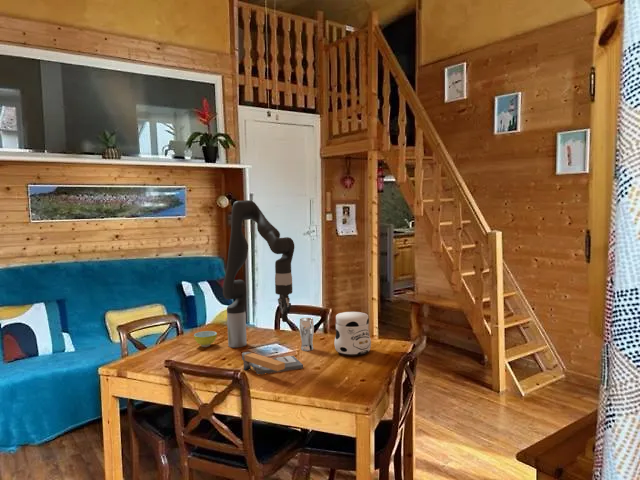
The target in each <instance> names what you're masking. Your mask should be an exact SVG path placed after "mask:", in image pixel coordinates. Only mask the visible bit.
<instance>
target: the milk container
mask: <svg viewBox="0 0 640 480" xmlns="http://www.w3.org/2000/svg"><path fill="white" fill-rule="evenodd" d="M333 344H334V348H335V351H336V352H337V353H338V354H340V355H343V356H351V357H353V356H356V357H357V356H361V355H362V356H363V355H365V354H367V353H369V352H370V350H371V346H372V339H371V336H370V321H369V315H368V313H365V312H360V311H343V312H339V313H337V314H336V315H335V337H334V343H333Z"/></svg>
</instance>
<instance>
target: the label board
mask: <svg viewBox="0 0 640 480" xmlns="http://www.w3.org/2000/svg"><path fill="white" fill-rule="evenodd" d="M272 359H274V360H278V361H281V362H284V363H285V369H283V370H280V371H275V370H272V369H269V368H266V367H263V366H260V365H257V364H254V363H251V368H252V367H253V368H252V369H253V370H254V371H256V372H255V373H256V375H257V374H261V375H266V374H265V373H268V374H274V373H281V372H286V371H287V372H288V371H292V370H293V371H294V370H300V369H304V364H303V363H302V362H301V361H299V359H298V358H297V357H296V356H295V355H287V356H280V357H279V356H278V357H273V358H272ZM273 372H274V373H273Z"/></svg>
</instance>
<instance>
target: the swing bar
mask: <svg viewBox="0 0 640 480" xmlns="http://www.w3.org/2000/svg"><path fill="white" fill-rule="evenodd" d="M241 357H242V358H241V360H245V361H247V362H250V363H254V364H257V365H260V366H263V367H266V368H269V369H272V370H275V371H280V370H283V369H285V363H284V362H281V361H278V360H274V359H273V358H270V357H267V356H264V355H260V354H258V353H254V352H250V351H244V352H242V353H241Z"/></svg>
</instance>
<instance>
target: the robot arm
mask: <svg viewBox="0 0 640 480" xmlns="http://www.w3.org/2000/svg"><path fill="white" fill-rule="evenodd" d="M249 220H253V221H254V222H255V223H256V226H257V227H256V229H257V233H258V234H259V235H260V236H261V237H262V238H263V240H265V241H266V243H267V245H268V247H269V249H270V251H271V252H272V253H273V254H275V255H281V257H280V258H278V259H277V260H275V264H274V271H275V272H274V273H275V274H274V285H275V294H276V295H278V296H279V297H278V298H277V302H278V307H279V311H280V313H281V322H283V323H288V321H289V319H288V314H289V313H290V311H291V306H292V303H291V302H290V299H291V298H290V297H289V295H291V294H292V293H293V276H292V261H293V256H294V254H295V253H294V252H295V243H294V240H293V239H292V238H291V237H288V236H287V237H281V233H280V231H279V230H278V229H277V228H276V227H275V226H274V225H273V224H272V223H271V222H270V221H269V220H268V218H267V217H266V215H264V214H263V212H262V210H261V209H260V208H259V206H258V205H257V203H256V202H254V201H253V200H250V199H249V200H245V199H244V200H236V201H234V202H233V205H232V208H231V223H230V227H231V228H230V238H229V245H228V253H227V264H226V271H225V275H224V278H223V285H222V294H223V295H222V296H223V298H224V299H225V300H234V301H233V302H232V303H231V304H229V305H227V307H226V319H227V324H226V325H227V343H228V344H227V345H228V346H227V347H229V348H242V347H245V346H247V345H248V344H247V318H246V316H247V315H246V307H247V286H246V283H245V281H244V280H243V279H236V276H237V274H238V272H239V271H240V269H241V268H242V267H243V265H244V264H245V262H247V261H246V260H248V259H247V258H248V252H249V243H248V240H247V239H246V237H245V235H244V233H243V221H249Z"/></svg>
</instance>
